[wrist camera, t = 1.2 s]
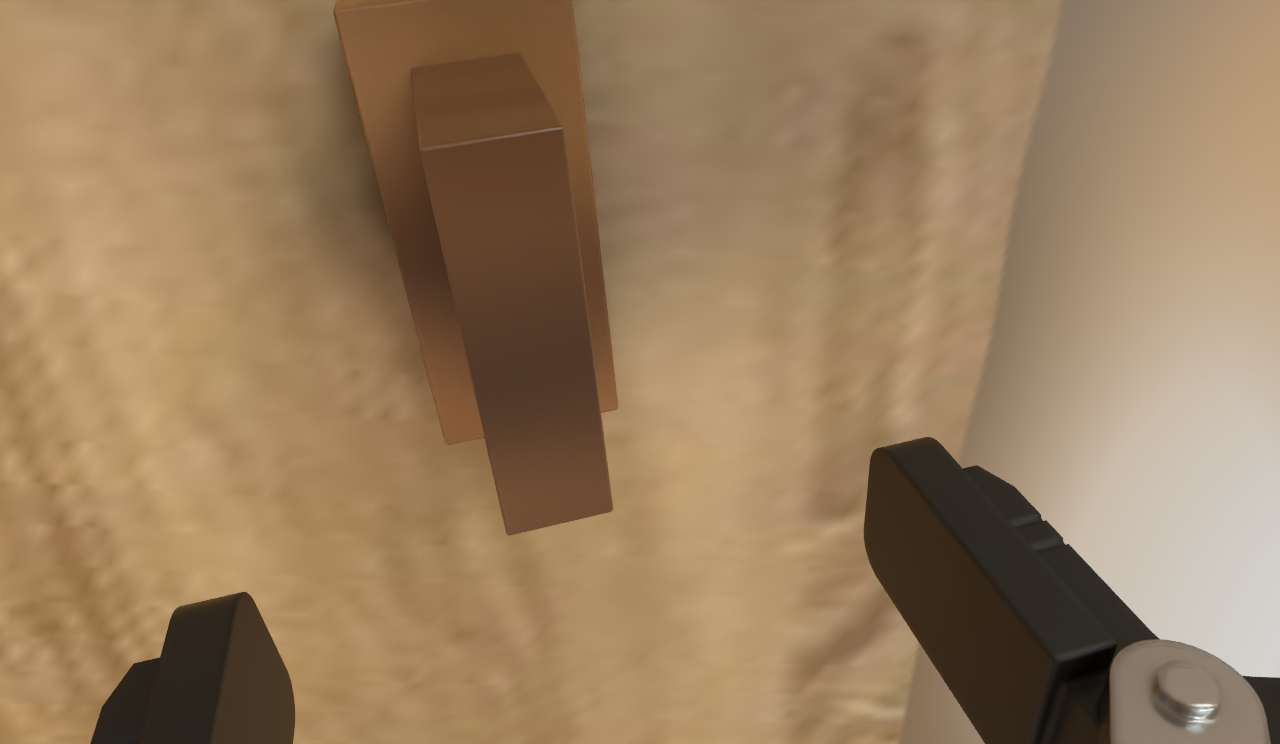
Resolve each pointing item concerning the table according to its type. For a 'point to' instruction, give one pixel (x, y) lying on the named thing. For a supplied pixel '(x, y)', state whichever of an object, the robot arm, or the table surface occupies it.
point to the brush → (495, 233)
